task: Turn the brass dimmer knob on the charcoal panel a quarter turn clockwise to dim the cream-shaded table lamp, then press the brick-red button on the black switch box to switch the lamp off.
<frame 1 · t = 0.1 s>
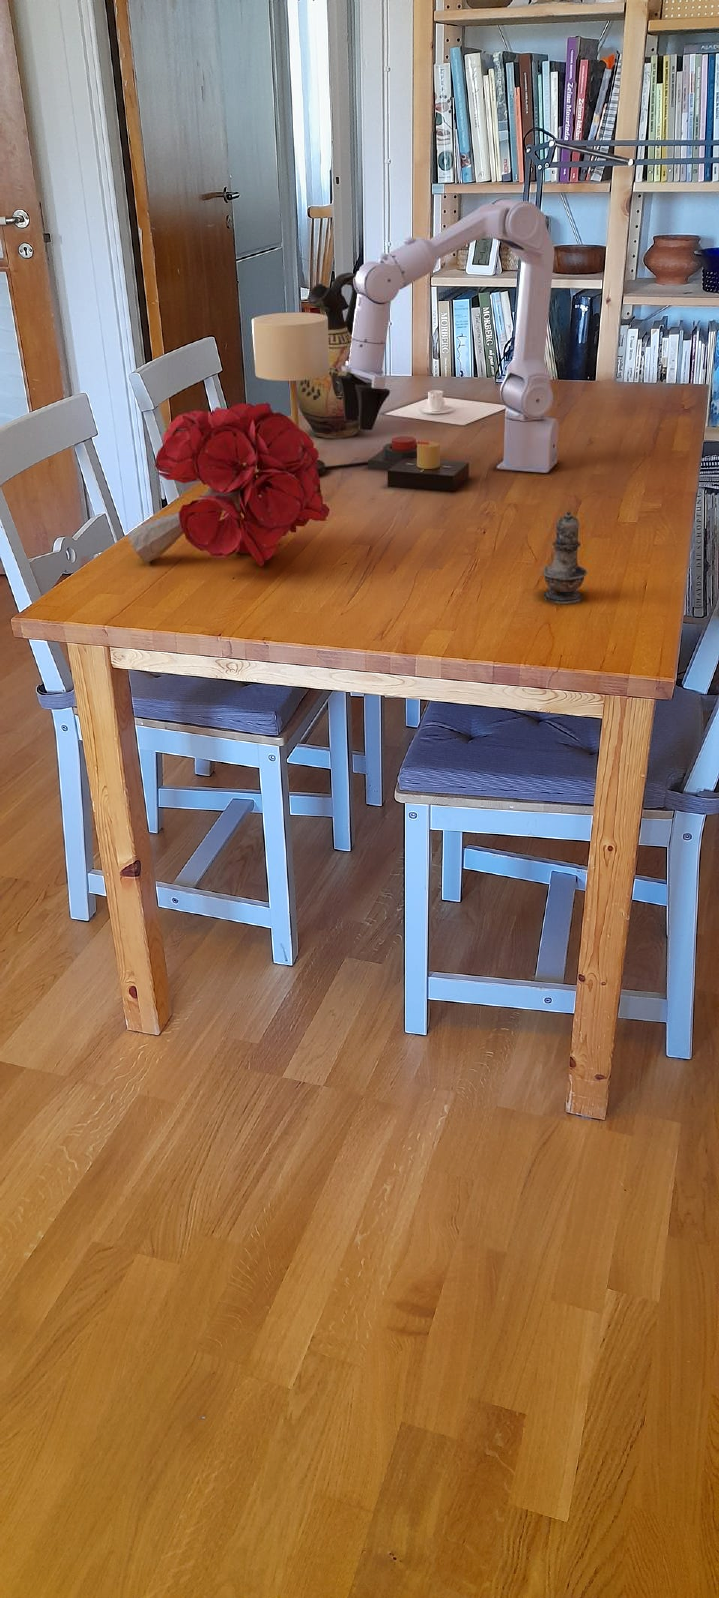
hand: (358, 424, 205), 11 cm above the table, tool pointing down, fingers open, 7 cm apart
dimmer knob: (428, 453, 208), point 5 cm above the table, hinge at 0.0°
lamp switch: (403, 443, 218), point 4 cm above the table, slide at 0.1 cm
bouquet: (232, 560, 178), on the table
dimmer panel: (428, 483, 210), on the table
switch box: (403, 465, 220), on the table
teacup and saucer: (448, 410, 258), on the table
table lamp: (297, 472, 218), on the table
salt shaker: (562, 598, 162), on the table
ceramic jug: (340, 433, 243), on the table
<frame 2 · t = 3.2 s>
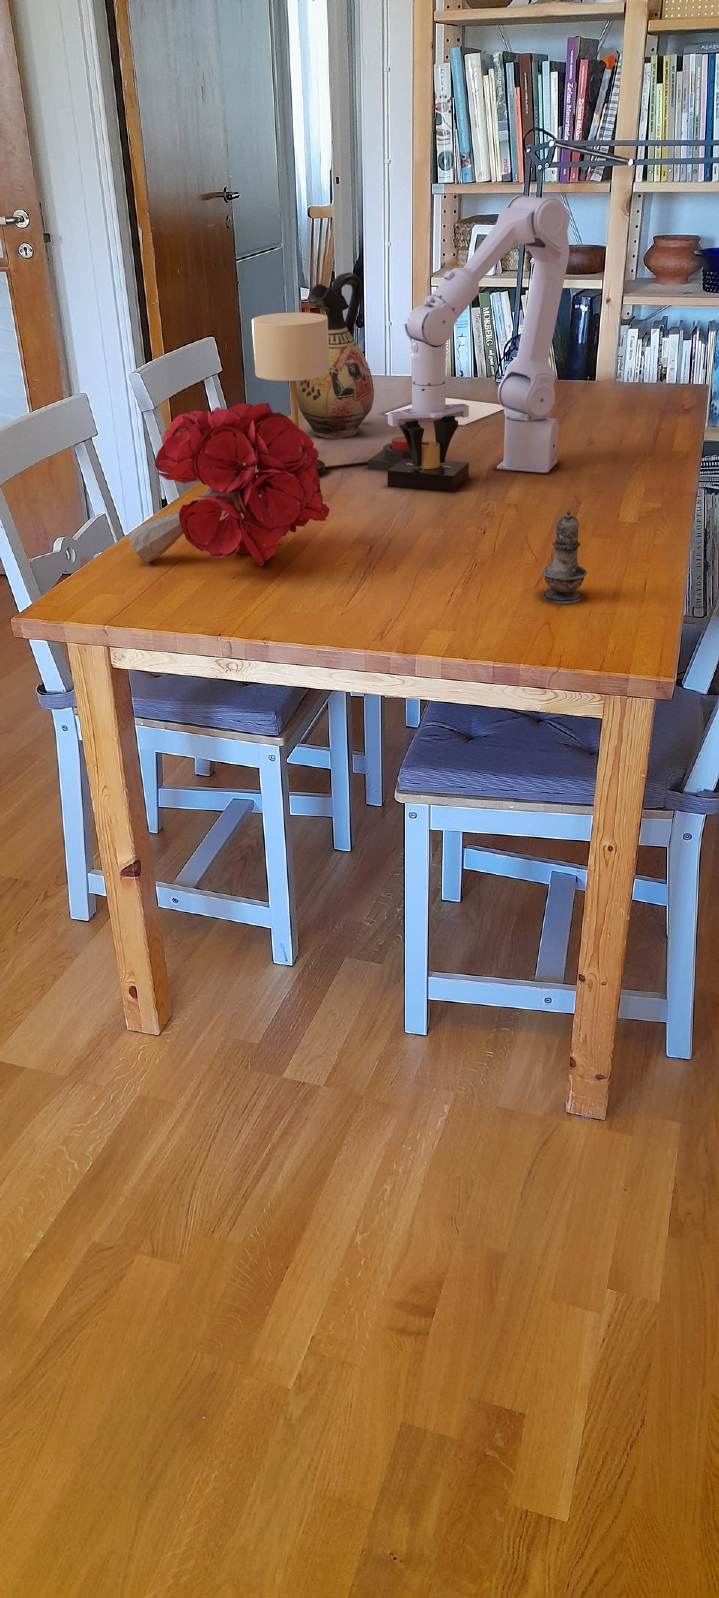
hand: (428, 463, 208), 4 cm above the table, tool pointing down, fingers closed on dimmer knob, 4 cm apart
dimmer knob: (428, 453, 208), point 5 cm above the table, hinge at 0.0°, touching gripper
everything else where it was.
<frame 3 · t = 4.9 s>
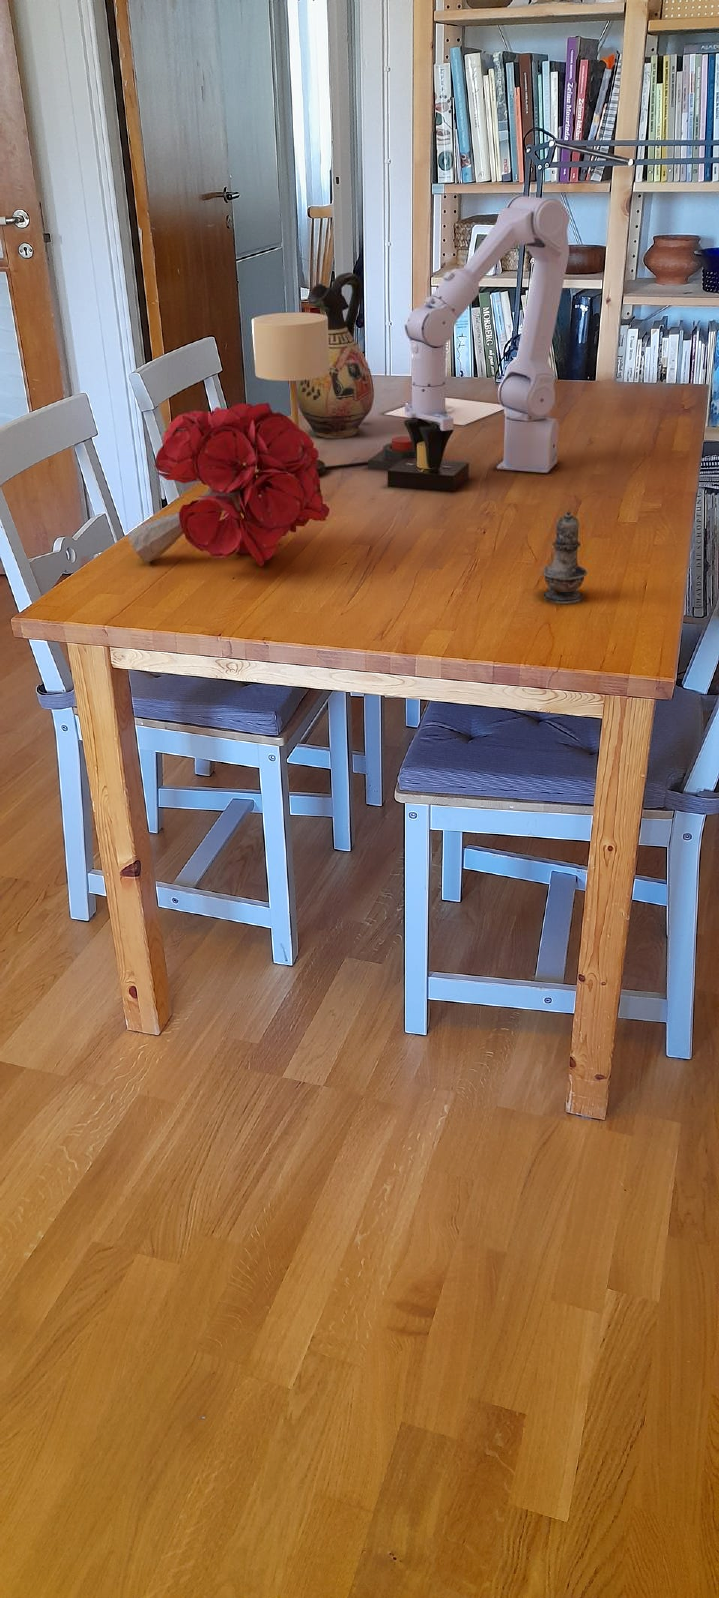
hand: (428, 464, 208), 3 cm above the table, tool pointing down, fingers closed on dimmer knob, 4 cm apart
dimmer knob: (428, 453, 208), point 5 cm above the table, hinge at -88.7°, touching gripper
everything else where it was.
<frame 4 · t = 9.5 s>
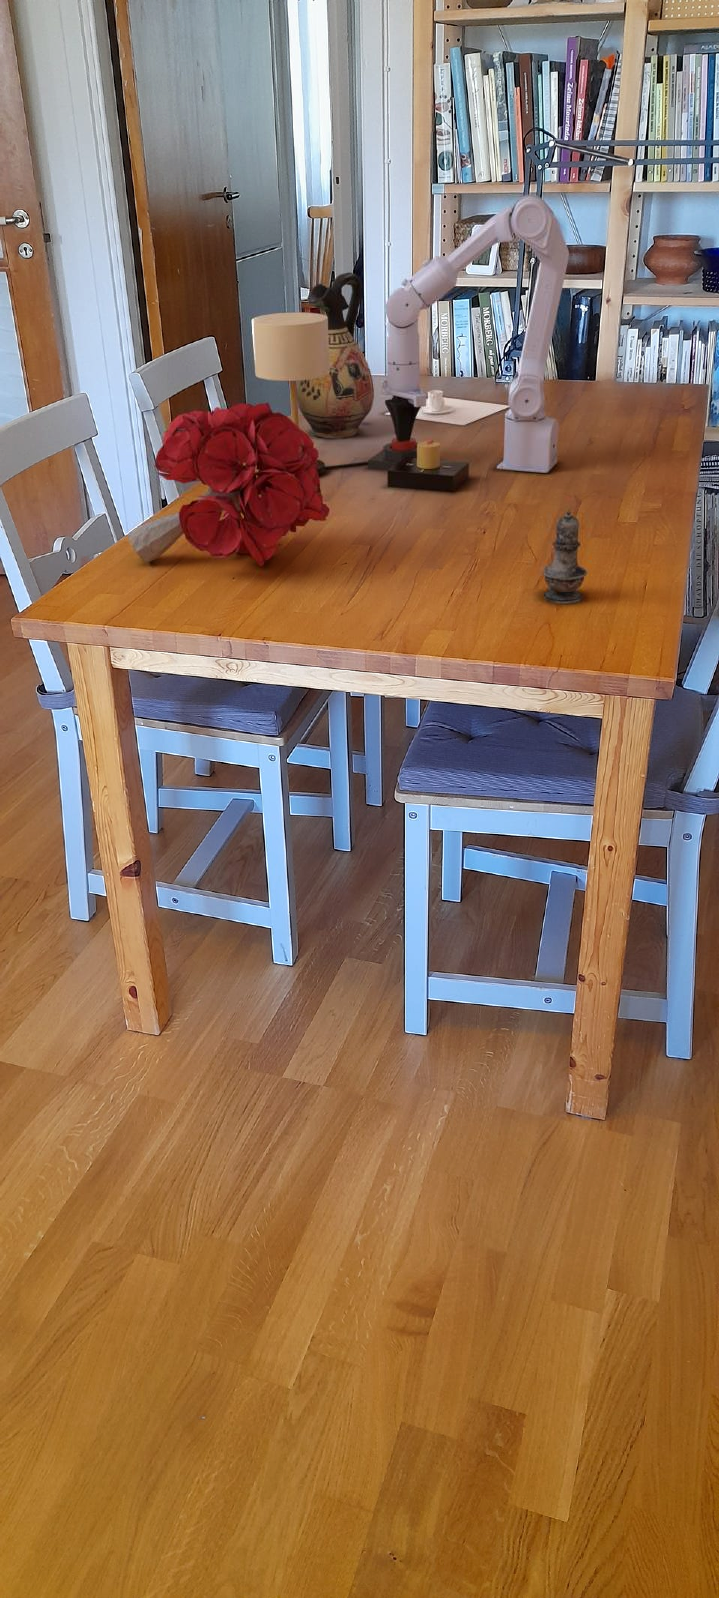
hand: (403, 439, 218), 5 cm above the table, tool pointing down, fingers closed, pressing on lamp switch
dimmer knob: (428, 453, 208), point 5 cm above the table, hinge at -88.9°
lamp switch: (403, 444, 218), point 4 cm above the table, slide at 0.0 cm, touching gripper
everything else where it was.
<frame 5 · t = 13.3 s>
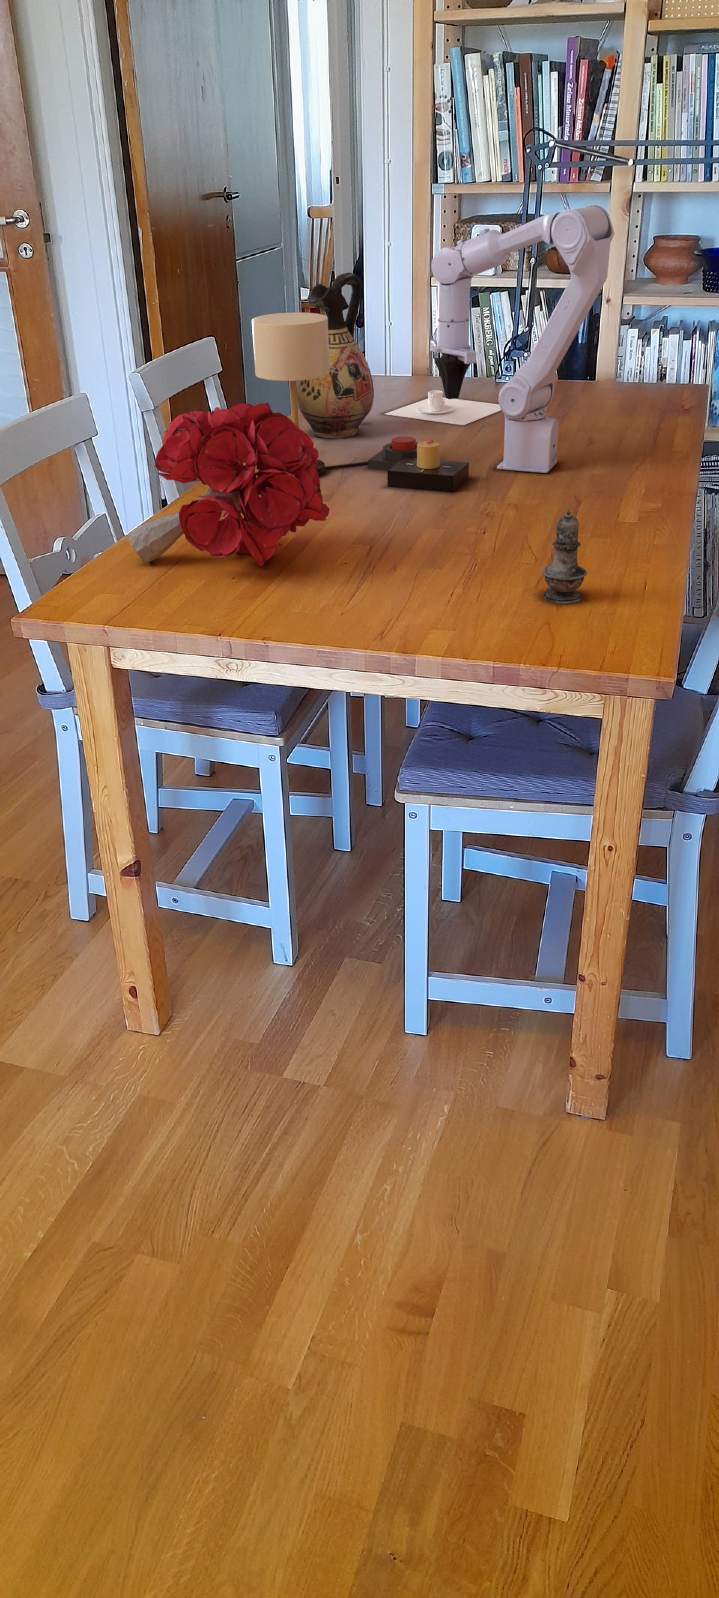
hand: (452, 397, 221), 10 cm above the table, tool pointing down, fingers closed
lamp switch: (403, 443, 218), point 4 cm above the table, slide at 0.1 cm
everything else where it was.
at the end: dimmer knob at -89° (first picture: +0°); lamp switch pushed in 1.2 cm at the most during the clip, back to where it started at the end; lamp switch slide at 0.1 cm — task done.
